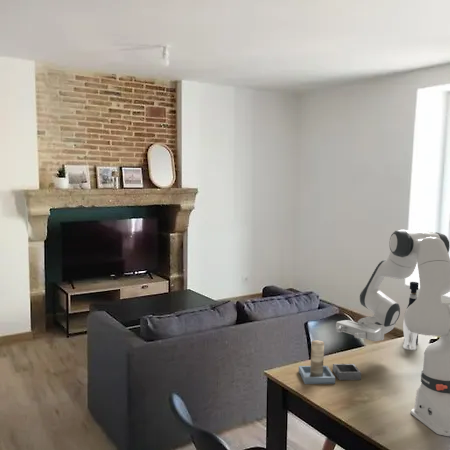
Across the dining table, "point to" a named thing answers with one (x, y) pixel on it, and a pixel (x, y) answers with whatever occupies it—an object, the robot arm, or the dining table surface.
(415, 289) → the black chrome pepper mill
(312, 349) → the peg
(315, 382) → the tray
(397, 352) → the dining table surface
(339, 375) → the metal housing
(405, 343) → the beer glass
